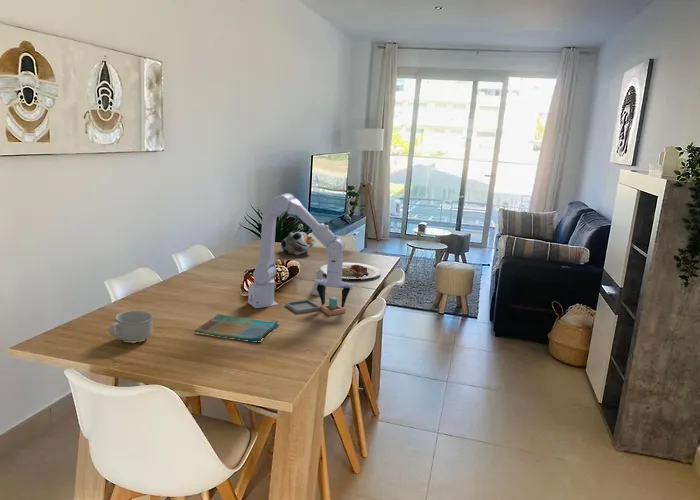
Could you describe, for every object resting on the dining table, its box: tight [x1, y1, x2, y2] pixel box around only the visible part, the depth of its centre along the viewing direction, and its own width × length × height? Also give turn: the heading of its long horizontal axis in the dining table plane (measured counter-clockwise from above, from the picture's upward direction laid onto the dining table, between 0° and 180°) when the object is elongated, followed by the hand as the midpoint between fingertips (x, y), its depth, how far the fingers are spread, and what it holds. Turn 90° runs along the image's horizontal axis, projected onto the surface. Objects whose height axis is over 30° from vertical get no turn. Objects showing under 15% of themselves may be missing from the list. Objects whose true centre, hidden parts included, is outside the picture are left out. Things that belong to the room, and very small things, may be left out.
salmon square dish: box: [319, 303, 347, 316], centre depth 196 cm, size 7×7×2 cm
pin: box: [328, 296, 338, 310], centre depth 196 cm, size 3×3×5 cm
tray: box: [284, 299, 321, 315], centre depth 198 cm, size 10×10×2 cm
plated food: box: [319, 261, 382, 280], centre depth 253 cm, size 30×30×3 cm
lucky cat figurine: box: [280, 231, 316, 256], centre depth 287 cm, size 17×14×16 cm
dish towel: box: [194, 314, 280, 342], centre depth 174 cm, size 17×23×2 cm
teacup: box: [108, 310, 154, 341], centre depth 159 cm, size 14×11×8 cm
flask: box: [310, 269, 328, 297], centre depth 217 cm, size 7×7×10 cm
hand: (333, 305), depth 196 cm, fingers open, 7 cm apart
